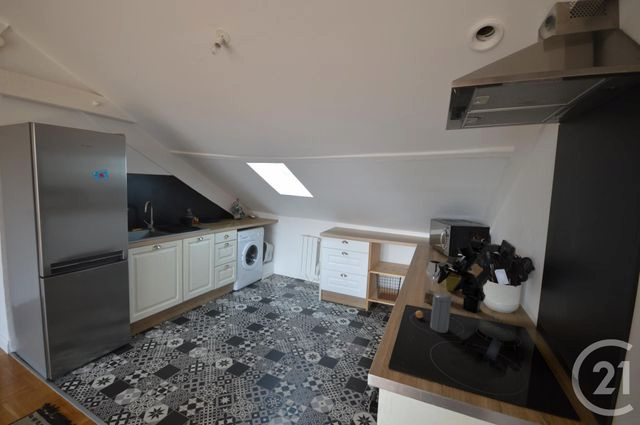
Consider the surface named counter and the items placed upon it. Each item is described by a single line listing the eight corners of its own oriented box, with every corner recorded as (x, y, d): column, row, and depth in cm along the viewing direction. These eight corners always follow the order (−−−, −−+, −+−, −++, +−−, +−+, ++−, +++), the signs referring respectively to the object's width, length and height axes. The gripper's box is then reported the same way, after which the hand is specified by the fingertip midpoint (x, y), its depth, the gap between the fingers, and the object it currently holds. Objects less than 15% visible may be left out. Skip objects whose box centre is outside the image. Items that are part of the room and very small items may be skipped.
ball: (424, 318, 124) (424, 311, 124) (419, 320, 122) (420, 313, 122) (417, 315, 127) (418, 308, 126) (413, 317, 125) (414, 310, 124)
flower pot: (461, 294, 155) (463, 278, 154) (444, 291, 158) (446, 276, 157) (459, 288, 163) (460, 274, 162) (442, 286, 166) (444, 271, 165)
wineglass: (433, 298, 147) (437, 265, 145) (420, 292, 154) (424, 260, 152) (443, 295, 152) (446, 263, 150) (429, 290, 159) (433, 259, 156)
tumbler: (450, 329, 116) (454, 297, 114) (442, 334, 112) (446, 301, 110) (435, 323, 121) (439, 292, 119) (427, 327, 117) (431, 295, 115)
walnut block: (436, 301, 144) (437, 292, 143) (434, 304, 140) (435, 295, 139) (426, 298, 146) (427, 289, 146) (424, 302, 142) (425, 292, 142)
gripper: (442, 245, 135) (422, 269, 132) (477, 256, 118) (454, 283, 115) (453, 260, 139) (433, 283, 136) (487, 273, 122) (466, 299, 119)
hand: (445, 287), depth 126 cm, fingers open, 9 cm apart
